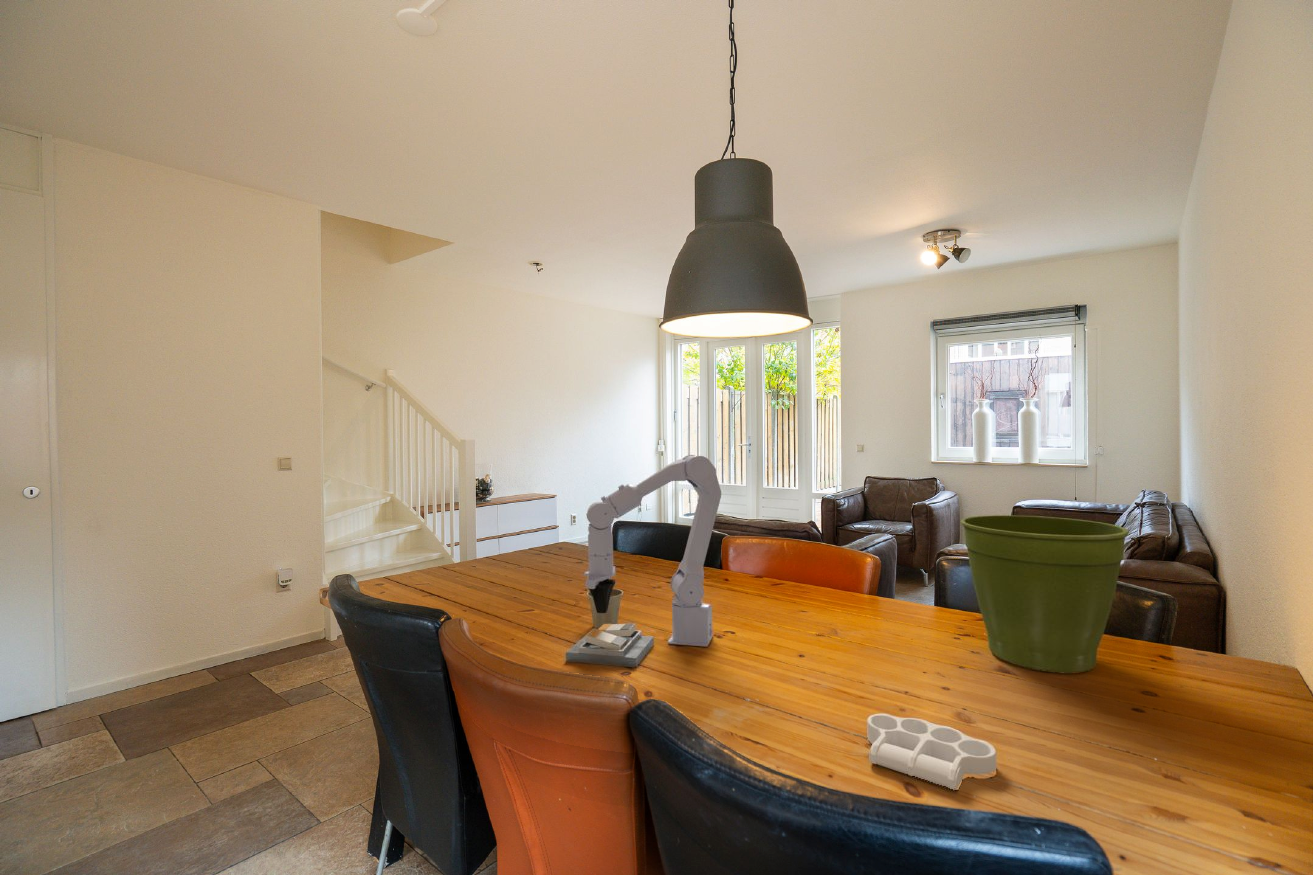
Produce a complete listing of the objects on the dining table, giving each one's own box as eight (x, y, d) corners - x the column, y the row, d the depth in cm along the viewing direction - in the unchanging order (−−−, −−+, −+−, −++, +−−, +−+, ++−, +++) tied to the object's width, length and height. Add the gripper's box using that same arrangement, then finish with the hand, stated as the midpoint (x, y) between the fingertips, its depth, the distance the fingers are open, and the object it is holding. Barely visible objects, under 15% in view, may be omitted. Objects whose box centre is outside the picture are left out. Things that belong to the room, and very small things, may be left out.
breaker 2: (635, 629, 138) (635, 622, 138) (630, 636, 133) (629, 628, 133) (603, 631, 140) (603, 624, 140) (596, 637, 135) (596, 630, 136)
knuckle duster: (847, 761, 88) (880, 724, 99) (983, 808, 76) (1003, 759, 88) (847, 739, 88) (880, 704, 99) (983, 781, 76) (1003, 736, 88)
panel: (653, 645, 138) (653, 631, 138) (636, 667, 124) (635, 652, 124) (589, 640, 142) (589, 626, 142) (565, 661, 129) (565, 646, 129)
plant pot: (962, 671, 120) (960, 529, 120) (963, 628, 146) (961, 512, 146) (1149, 699, 106) (1146, 539, 106) (1113, 646, 132) (1110, 518, 132)
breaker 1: (625, 645, 131) (626, 638, 131) (618, 652, 127) (620, 645, 127) (592, 634, 133) (593, 627, 133) (584, 641, 129) (586, 634, 129)
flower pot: (622, 631, 148) (621, 597, 148) (584, 632, 148) (584, 597, 148) (625, 620, 157) (624, 587, 157) (589, 620, 157) (589, 588, 158)
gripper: (595, 547, 146) (597, 602, 146) (572, 559, 132) (573, 620, 132) (623, 548, 144) (624, 604, 144) (602, 560, 130) (603, 622, 130)
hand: (602, 612), depth 138 cm, fingers closed
